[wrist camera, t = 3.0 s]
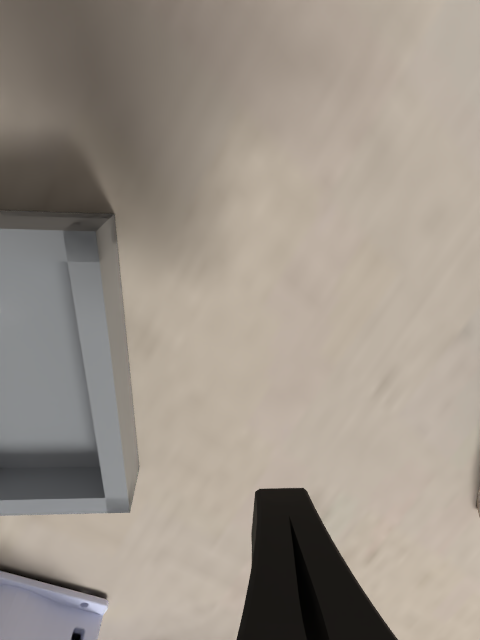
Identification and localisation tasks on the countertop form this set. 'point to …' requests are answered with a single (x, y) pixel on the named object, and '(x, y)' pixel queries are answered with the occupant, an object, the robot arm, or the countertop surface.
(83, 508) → the tray
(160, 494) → the countertop surface
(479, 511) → the washcloth
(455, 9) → the countertop surface
